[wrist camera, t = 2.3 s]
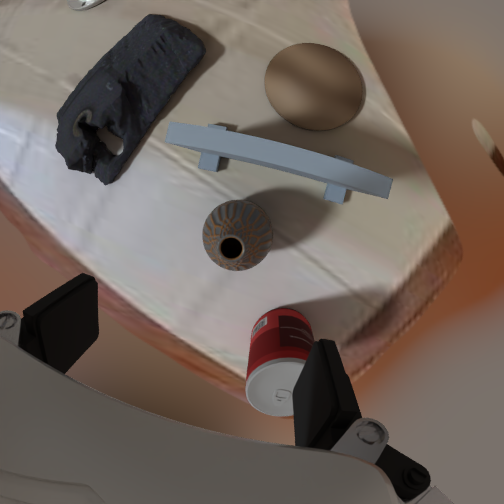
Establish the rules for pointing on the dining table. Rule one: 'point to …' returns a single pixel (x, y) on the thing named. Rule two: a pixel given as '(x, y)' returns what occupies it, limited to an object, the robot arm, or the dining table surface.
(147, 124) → the dark slate chunk
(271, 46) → the dining table surface
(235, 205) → the vase
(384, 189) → the screen
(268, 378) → the canned food
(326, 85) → the coaster
